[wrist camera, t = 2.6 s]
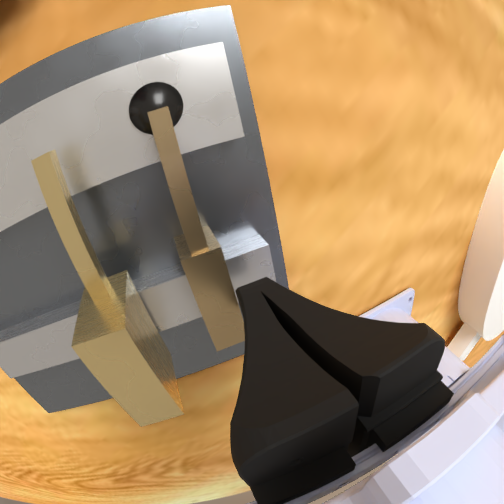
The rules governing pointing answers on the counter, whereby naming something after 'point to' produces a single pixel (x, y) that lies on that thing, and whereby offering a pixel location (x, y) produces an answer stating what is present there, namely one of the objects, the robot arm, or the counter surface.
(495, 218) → the white circle with bar
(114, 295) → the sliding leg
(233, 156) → the grey mechanism base plate
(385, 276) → the counter surface
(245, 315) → the robot arm
